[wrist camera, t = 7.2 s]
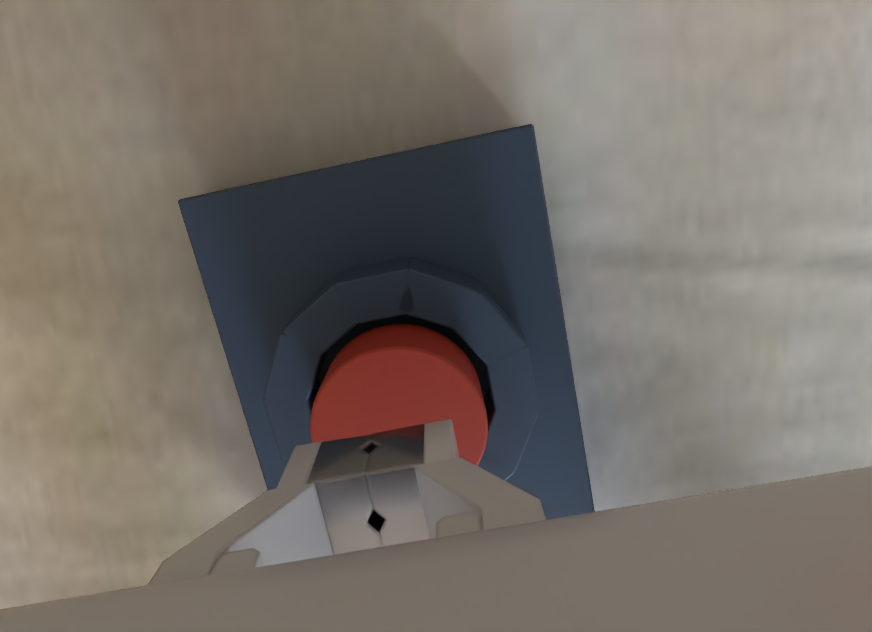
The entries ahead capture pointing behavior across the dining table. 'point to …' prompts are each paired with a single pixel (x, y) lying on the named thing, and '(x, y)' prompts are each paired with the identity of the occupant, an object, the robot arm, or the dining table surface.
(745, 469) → the dining table surface
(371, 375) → the lid button
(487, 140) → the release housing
